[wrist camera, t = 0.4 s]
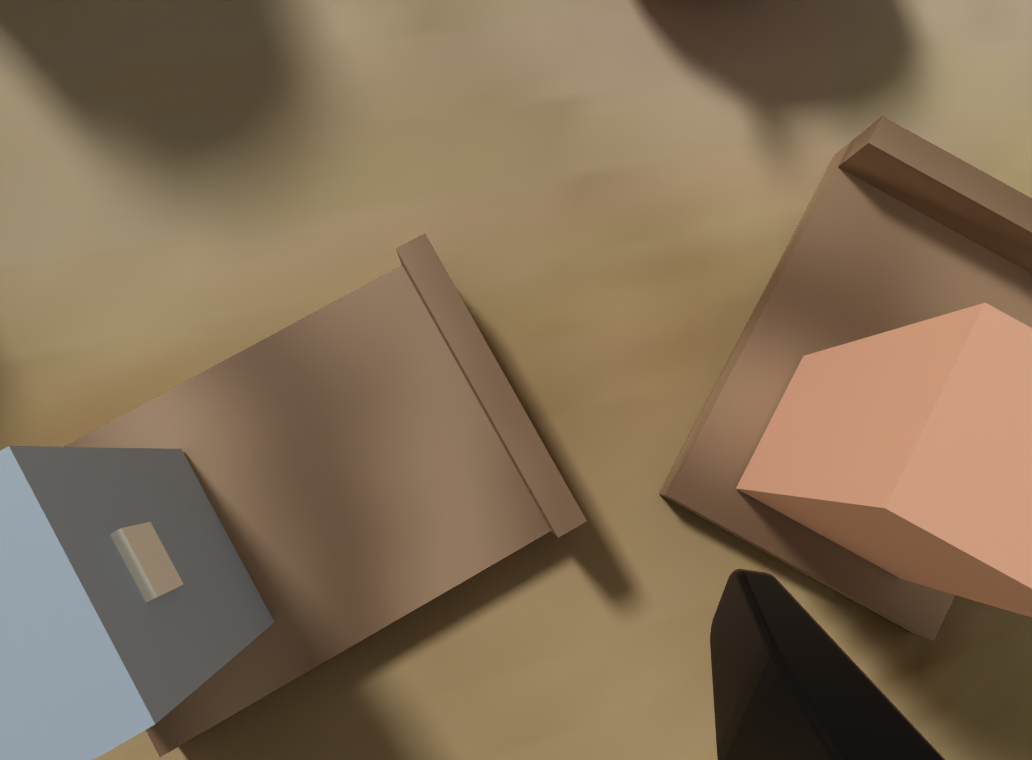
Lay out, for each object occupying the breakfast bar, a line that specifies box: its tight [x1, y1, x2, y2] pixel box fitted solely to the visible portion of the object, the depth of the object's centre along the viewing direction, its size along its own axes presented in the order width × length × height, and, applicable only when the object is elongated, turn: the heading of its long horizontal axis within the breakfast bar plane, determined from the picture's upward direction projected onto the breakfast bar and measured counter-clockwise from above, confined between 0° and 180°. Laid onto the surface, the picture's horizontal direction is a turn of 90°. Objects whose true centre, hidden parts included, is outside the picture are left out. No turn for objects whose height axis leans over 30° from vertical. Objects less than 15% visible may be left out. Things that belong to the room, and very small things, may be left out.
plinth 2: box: [659, 116, 1032, 642], centre depth 22 cm, size 11×8×3 cm
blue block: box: [0, 446, 274, 760], centre depth 17 cm, size 4×5×8 cm
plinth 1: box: [65, 234, 587, 757], centre depth 21 cm, size 12×8×3 cm, turn 119°
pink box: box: [736, 303, 1032, 618], centre depth 18 cm, size 4×5×8 cm
